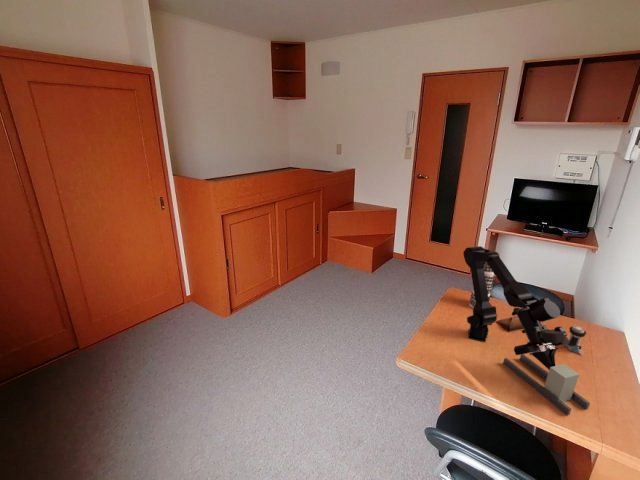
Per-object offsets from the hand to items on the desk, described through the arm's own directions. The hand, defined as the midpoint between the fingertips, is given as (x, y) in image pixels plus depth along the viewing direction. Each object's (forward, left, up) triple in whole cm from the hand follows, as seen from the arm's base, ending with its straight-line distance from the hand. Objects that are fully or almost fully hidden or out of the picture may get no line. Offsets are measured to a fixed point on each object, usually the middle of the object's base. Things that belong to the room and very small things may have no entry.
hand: (553, 372), depth 105 cm
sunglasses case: (-3, +43, -9) cm, 44 cm away
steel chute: (-1, +1, -8) cm, 8 cm away
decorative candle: (-19, +53, -8) cm, 57 cm away
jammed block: (+2, -2, -7) cm, 8 cm away
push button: (+15, +31, -8) cm, 35 cm away
